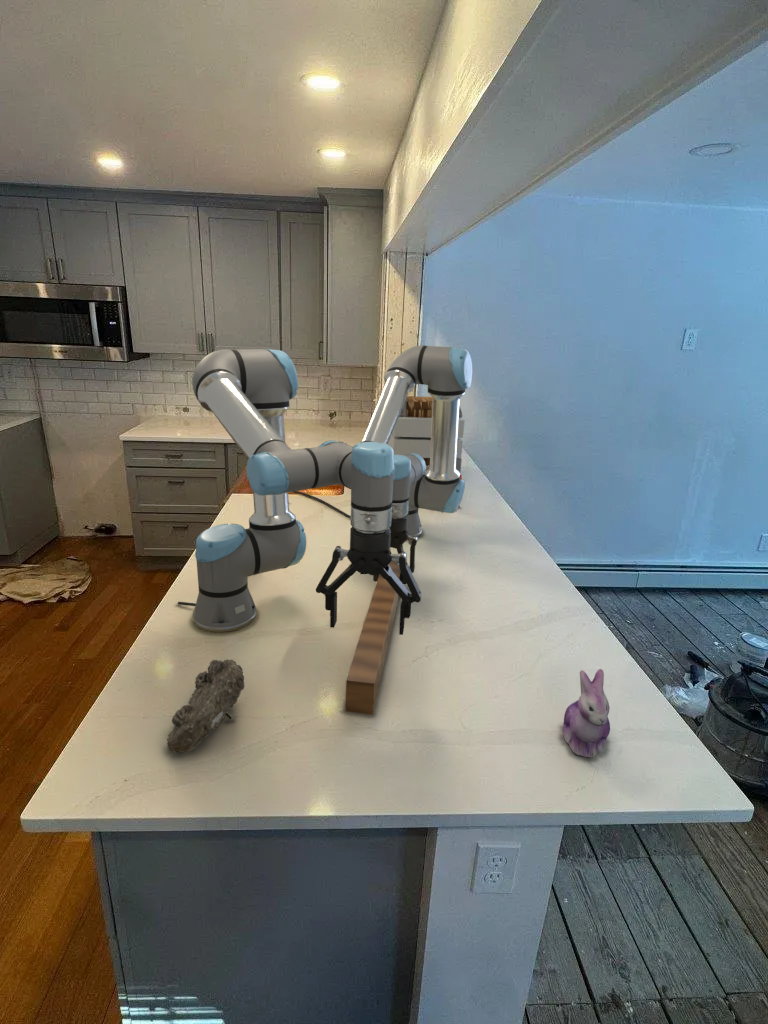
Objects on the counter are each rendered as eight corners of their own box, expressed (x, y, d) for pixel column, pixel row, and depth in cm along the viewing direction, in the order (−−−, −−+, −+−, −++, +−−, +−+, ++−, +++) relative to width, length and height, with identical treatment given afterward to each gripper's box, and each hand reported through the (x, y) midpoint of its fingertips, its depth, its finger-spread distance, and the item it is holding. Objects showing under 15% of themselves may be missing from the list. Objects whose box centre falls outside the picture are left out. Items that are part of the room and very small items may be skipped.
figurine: (588, 767, 100) (602, 697, 95) (547, 730, 108) (559, 664, 103) (625, 751, 104) (641, 683, 99) (583, 716, 112) (596, 652, 107)
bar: (382, 582, 164) (383, 559, 161) (401, 584, 163) (403, 561, 161) (345, 711, 111) (346, 680, 109) (372, 715, 111) (374, 683, 108)
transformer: (382, 463, 289) (386, 382, 275) (445, 464, 293) (451, 384, 279) (390, 482, 257) (394, 392, 243) (460, 483, 261) (468, 394, 247)
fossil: (192, 660, 117) (244, 628, 112) (224, 691, 120) (276, 661, 115) (142, 746, 98) (202, 712, 93) (182, 779, 101) (242, 748, 96)
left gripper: (299, 528, 102) (300, 631, 110) (437, 540, 100) (429, 644, 107) (309, 515, 109) (310, 611, 117) (439, 525, 107) (431, 624, 114)
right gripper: (356, 516, 147) (354, 595, 155) (428, 522, 145) (421, 602, 153) (361, 506, 154) (358, 583, 162) (429, 512, 152) (423, 589, 160)
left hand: (367, 627), depth 112 cm, fingers open, 13 cm apart
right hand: (389, 592), depth 157 cm, fingers closed on bar, 5 cm apart
